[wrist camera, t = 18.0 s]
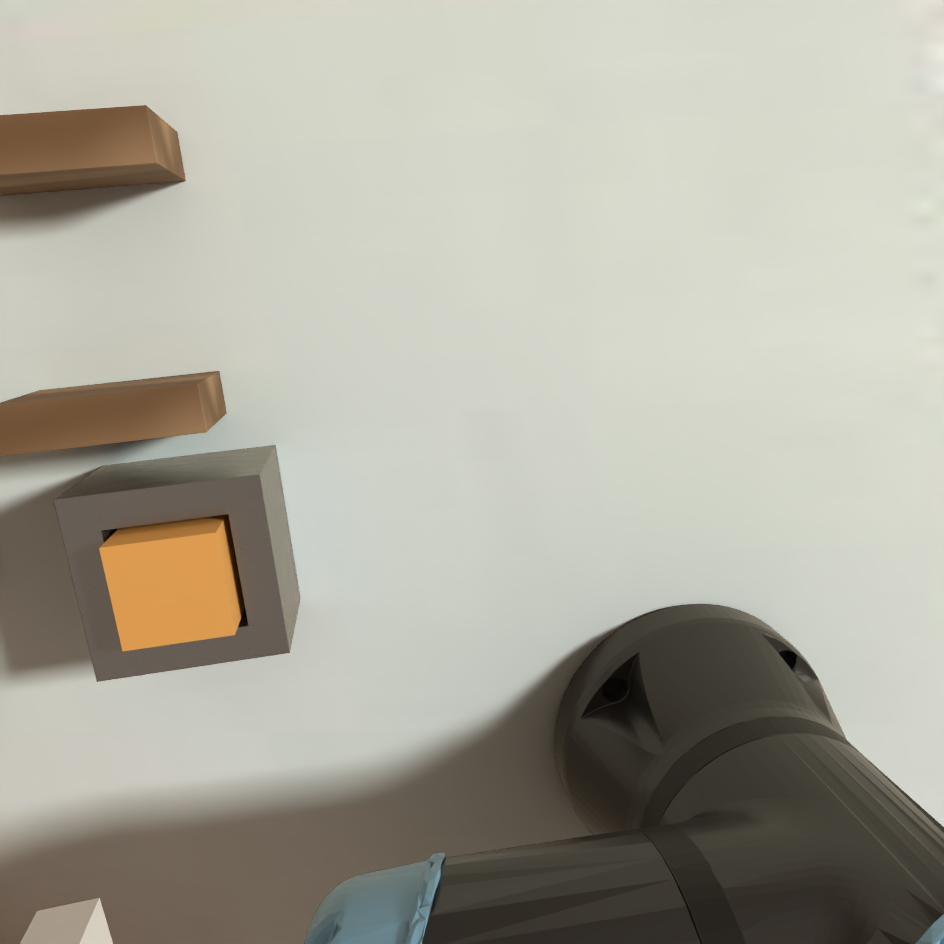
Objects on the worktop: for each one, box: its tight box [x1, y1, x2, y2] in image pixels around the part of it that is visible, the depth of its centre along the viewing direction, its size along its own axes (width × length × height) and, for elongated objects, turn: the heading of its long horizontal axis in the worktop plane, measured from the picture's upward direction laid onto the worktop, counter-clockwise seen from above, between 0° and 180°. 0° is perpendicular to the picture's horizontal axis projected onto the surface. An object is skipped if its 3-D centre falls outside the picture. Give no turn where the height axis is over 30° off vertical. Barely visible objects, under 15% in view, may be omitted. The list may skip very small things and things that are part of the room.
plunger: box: [99, 514, 245, 651], centre depth 33 cm, size 4×4×6 cm
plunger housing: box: [54, 445, 300, 682], centre depth 35 cm, size 8×8×6 cm
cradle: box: [0, 105, 226, 456], centre depth 32 cm, size 12×8×5 cm, turn 6°
